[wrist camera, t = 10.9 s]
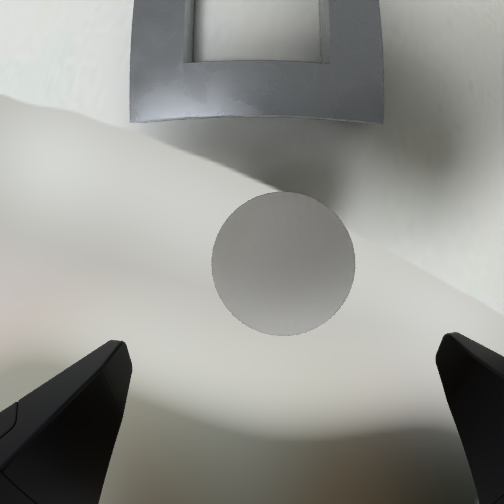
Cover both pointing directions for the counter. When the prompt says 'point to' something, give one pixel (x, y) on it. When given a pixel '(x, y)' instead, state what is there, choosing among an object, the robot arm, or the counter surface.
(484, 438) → the robot arm
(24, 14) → the counter surface
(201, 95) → the socket collar
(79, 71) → the counter surface
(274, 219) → the light bulb
